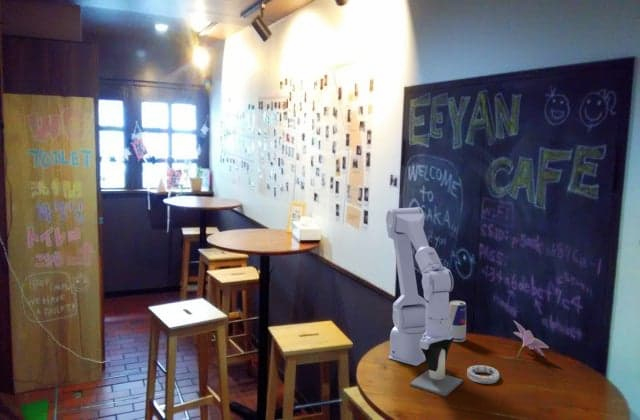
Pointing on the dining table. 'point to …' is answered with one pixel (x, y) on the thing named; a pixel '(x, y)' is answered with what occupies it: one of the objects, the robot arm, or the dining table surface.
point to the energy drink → (458, 320)
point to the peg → (439, 367)
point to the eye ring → (484, 369)
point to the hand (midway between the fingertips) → (436, 367)
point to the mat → (436, 384)
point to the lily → (529, 340)
